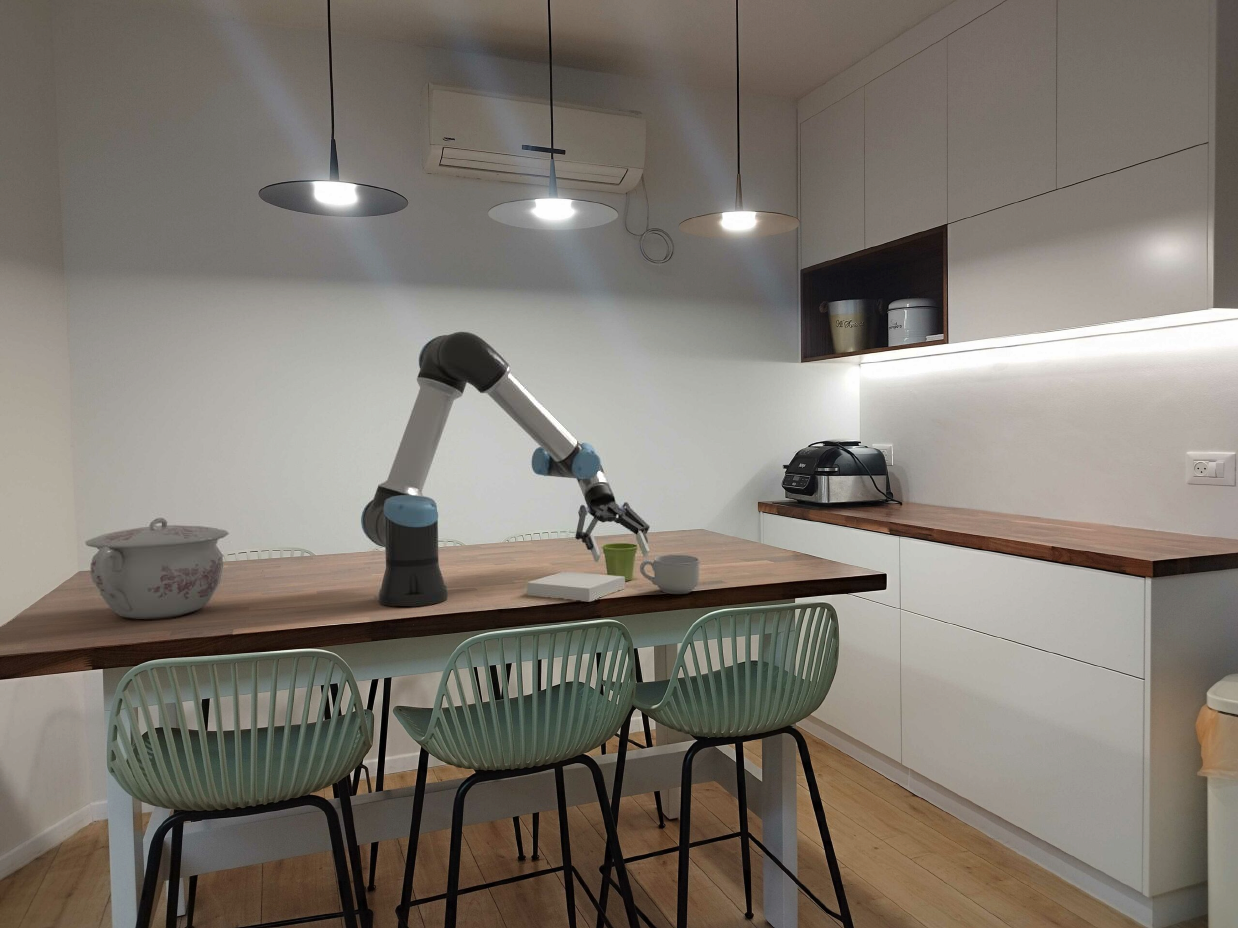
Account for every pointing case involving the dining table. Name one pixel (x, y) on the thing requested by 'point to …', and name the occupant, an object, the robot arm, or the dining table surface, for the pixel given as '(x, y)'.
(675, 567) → the teacup
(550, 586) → the plinth
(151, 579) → the chamber pot
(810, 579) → the dining table surface
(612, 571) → the plant pot
